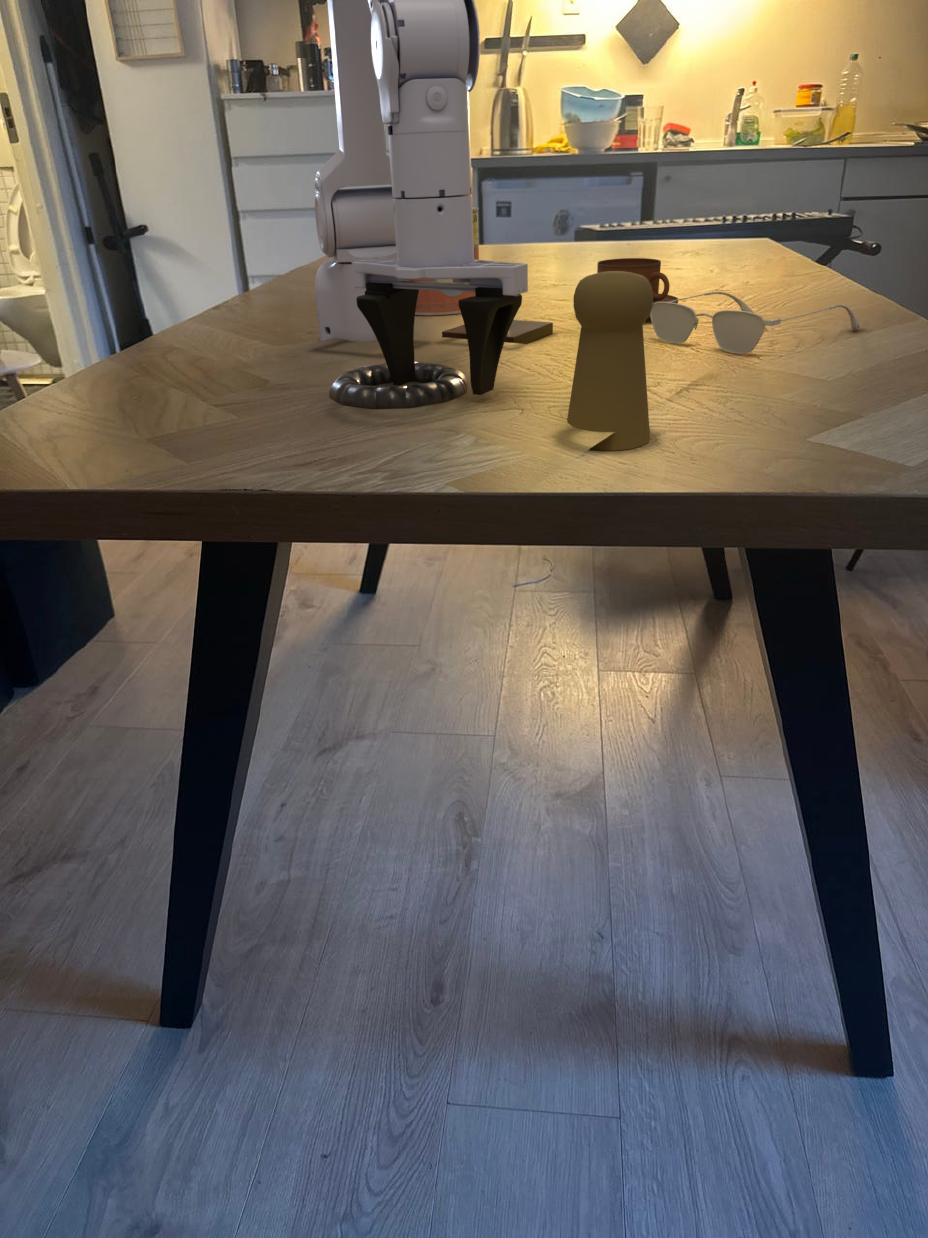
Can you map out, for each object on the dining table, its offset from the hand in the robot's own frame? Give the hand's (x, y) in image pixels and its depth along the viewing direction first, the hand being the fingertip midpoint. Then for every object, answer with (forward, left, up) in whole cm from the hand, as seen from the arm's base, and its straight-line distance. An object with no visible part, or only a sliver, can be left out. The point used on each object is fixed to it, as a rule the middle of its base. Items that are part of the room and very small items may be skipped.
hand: (442, 387), depth 68 cm
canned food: (-29, +43, -2) cm, 52 cm away
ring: (-4, 0, -1) cm, 4 cm away
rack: (-11, +28, -2) cm, 30 cm away
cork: (+15, -1, -2) cm, 15 cm away
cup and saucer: (-3, +45, -2) cm, 45 cm away
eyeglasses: (+14, +39, -2) cm, 41 cm away
